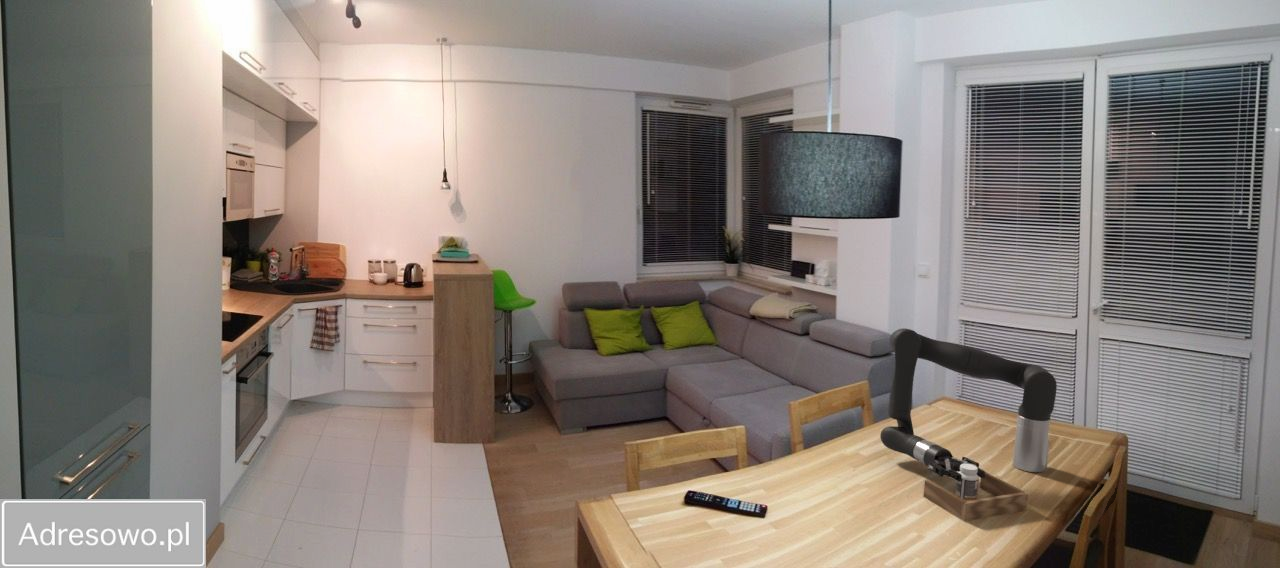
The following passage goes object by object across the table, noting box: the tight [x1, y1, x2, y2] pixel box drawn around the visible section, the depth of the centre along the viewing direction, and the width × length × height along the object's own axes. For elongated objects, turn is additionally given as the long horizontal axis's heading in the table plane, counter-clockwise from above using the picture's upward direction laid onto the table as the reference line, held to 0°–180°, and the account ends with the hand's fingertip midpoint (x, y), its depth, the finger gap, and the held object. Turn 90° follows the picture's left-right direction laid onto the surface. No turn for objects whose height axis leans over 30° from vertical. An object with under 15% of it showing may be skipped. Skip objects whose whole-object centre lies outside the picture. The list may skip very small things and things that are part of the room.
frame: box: [923, 471, 1029, 522], centre depth 209 cm, size 22×16×5 cm
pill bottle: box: [955, 464, 980, 501], centre depth 212 cm, size 6×6×10 cm
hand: (972, 476), depth 210 cm, fingers open, 8 cm apart
